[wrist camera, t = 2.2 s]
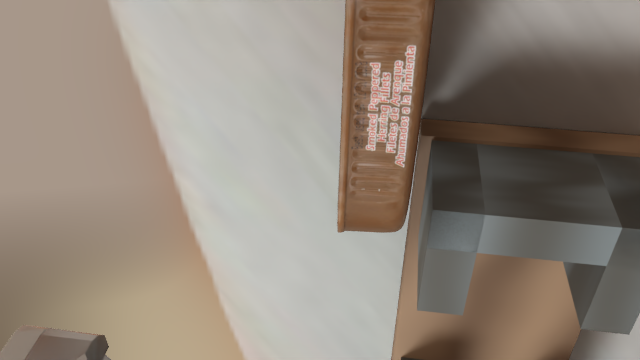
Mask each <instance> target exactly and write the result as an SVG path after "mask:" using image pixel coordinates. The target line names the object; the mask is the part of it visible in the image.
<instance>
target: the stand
mask: <svg viewBox="0 0 640 360" xmlns="http://www.w3.org/2000/svg"><path fill="white" fill-rule="evenodd" d="M639 313H640V136H638V135H625V134H612V133H599V132H586V131H574V130H561V129H548V128H535V127H522V126H509V125H496V124H483V123H471V122H458V121H445V120H432V119H421V125H420V133H419V141H418V149H417V157H416V165H415V173H414V181H413V189H412V197H411V205H410V213H409V221H408V229H407V237H406V245H405V253H404V261H403V269H402V277H401V285H400V293H399V301H398V309H397V317H396V325H395V333H394V341H393V349H392V357H391V360H569V357H570V355H571V353H572V350H573V348H574V345H575V343H576V341H577V338H578V336H579V333H580V331H581V329H585V330H594V331H603V332H612V333H620V334H630V332H631V330H632V328H633V326H634V323H635V321H636V319H637V317H638V315H639Z"/></svg>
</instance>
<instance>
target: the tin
mask: <svg viewBox="0 0 640 360" xmlns="http://www.w3.org/2000/svg"><path fill="white" fill-rule="evenodd" d="M434 7H435V0H346V4H345V32H344V57H343V87H342V112H341V143H340V169H339V189H338V222H337V224H338V225H337V226H338V232H344V231H364V232H396V231H398V230H400V229H401V228H402V226H403V224H404V222H405V219H406V215H407V210H408V205H409V199H410V193H411V187H412V179H413V172H414V165H415V157H416V151H417V144H418V135H419V129H420V122H421V114H422V107H423V99H424V91H425V83H426V76H427V67H428V58H429V50H430V43H431V33H432V24H433V15H434Z"/></svg>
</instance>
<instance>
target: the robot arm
mask: <svg viewBox="0 0 640 360" xmlns="http://www.w3.org/2000/svg"><path fill="white" fill-rule="evenodd" d="M108 347H109V346H108V344H107V341H106V338H105V336H104V335H98V334H90V333H82V332H75V331H66V330H59V329H52V328H45V327H37V326H28V325H23V326H21V327H20V328H19V329H17V330H16V331H15V332H14V333H13V334H12V336H11V337H10V339H9V340H8V342H7V343H6V345H5V346H4V347H3V349H2V350H1V352H0V360H111V359H110V358H108V357H107V356H106V355H105V353H106V351H107V349H108Z"/></svg>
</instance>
